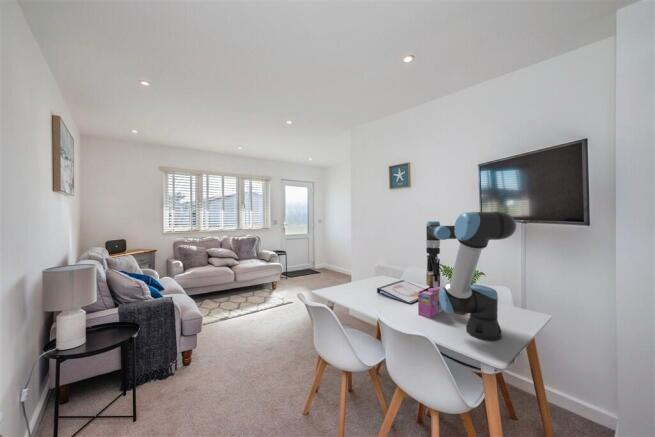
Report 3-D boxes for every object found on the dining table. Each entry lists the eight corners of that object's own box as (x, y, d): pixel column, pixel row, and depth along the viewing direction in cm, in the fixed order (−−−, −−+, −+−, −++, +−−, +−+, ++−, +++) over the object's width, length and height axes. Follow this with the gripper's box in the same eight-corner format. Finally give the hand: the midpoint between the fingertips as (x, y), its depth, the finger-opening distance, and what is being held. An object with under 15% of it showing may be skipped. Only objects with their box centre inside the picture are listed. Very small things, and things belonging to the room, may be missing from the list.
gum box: (436, 304, 173) (435, 283, 173) (448, 307, 167) (448, 286, 167) (417, 314, 157) (417, 291, 156) (431, 318, 151) (430, 294, 151)
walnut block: (440, 286, 159) (440, 273, 158) (430, 287, 159) (430, 273, 158) (436, 284, 165) (436, 271, 164) (426, 284, 165) (426, 271, 164)
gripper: (446, 249, 151) (446, 289, 152) (433, 244, 170) (433, 280, 171) (433, 249, 151) (433, 289, 152) (421, 244, 170) (421, 280, 171)
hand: (433, 284), depth 162 cm, fingers closed on walnut block, 6 cm apart
